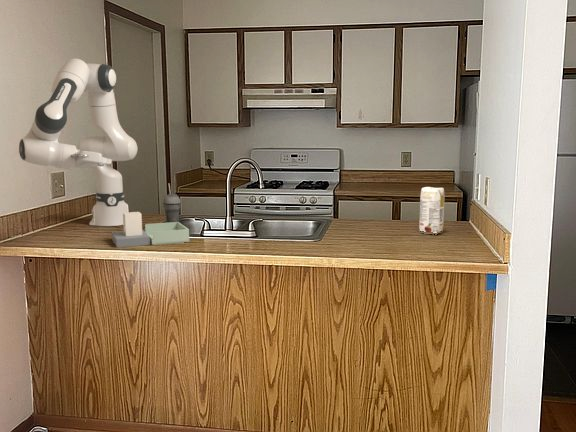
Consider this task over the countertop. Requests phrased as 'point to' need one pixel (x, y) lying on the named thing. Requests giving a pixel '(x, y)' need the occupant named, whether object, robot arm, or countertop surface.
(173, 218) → the beverage cup
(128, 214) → the off-white upright block
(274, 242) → the countertop surface
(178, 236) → the box
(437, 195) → the juice carton
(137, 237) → the board
